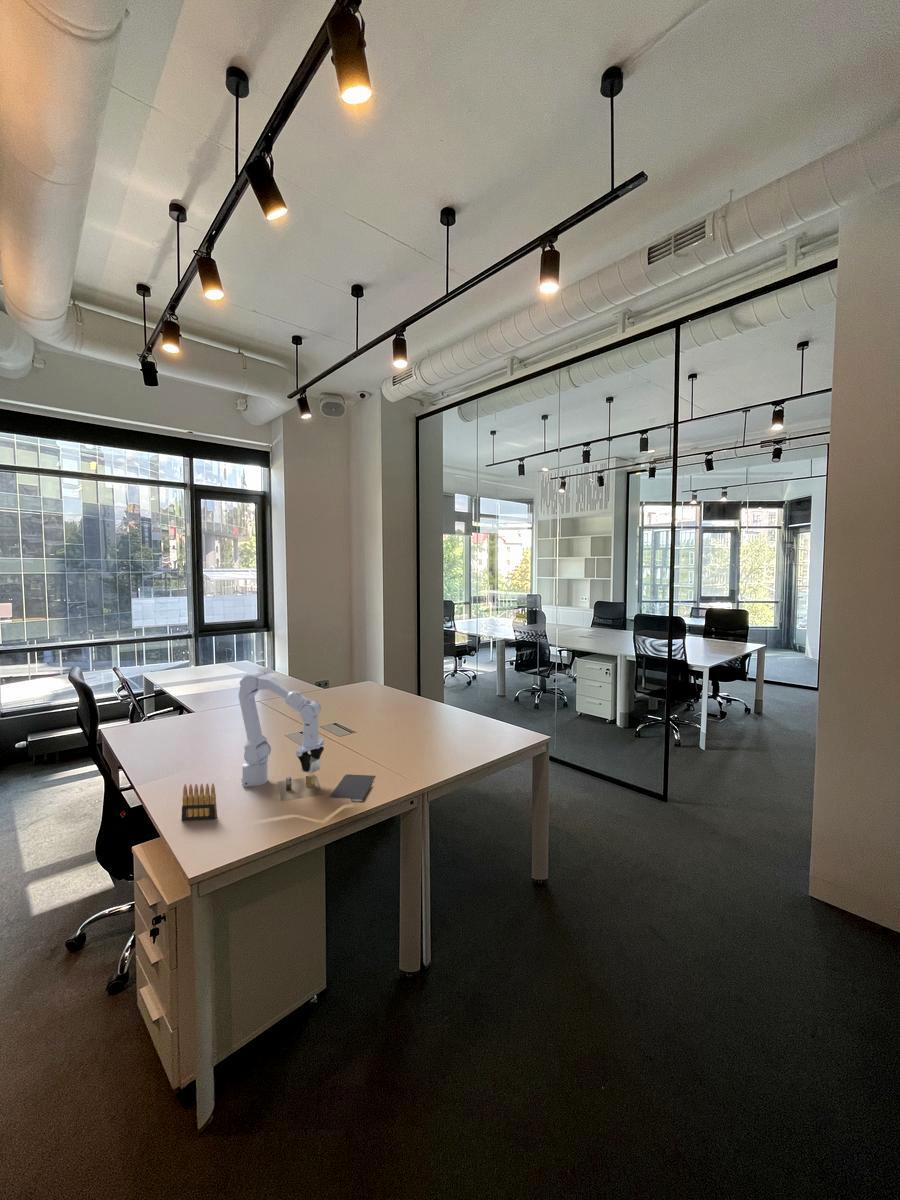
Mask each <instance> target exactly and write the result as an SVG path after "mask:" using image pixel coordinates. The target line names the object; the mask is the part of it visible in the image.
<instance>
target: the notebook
mask: <svg viewBox="0 0 900 1200" xmlns="http://www.w3.org/2000/svg"><path fill="white" fill-rule="evenodd" d="M376 777H377V775H369V774H368V775H367V774H366V775H364V774H345V775H344V776H343V777H342V779H341V780H340V782H339V783H338V784H337V786H336V787H335V788H334V789H333V791H332V792H331V794H330V795H329V798H332V799H349V800H351V802H359V801H362V802H364V801H365V799H364V798H366V797H367V795H368V793H369V792H370V790H369V789H371V788H372V786H373V785H372V783H373V782H374V783H375V779H376ZM374 783H373V784H374ZM371 785H372V786H371ZM370 787H371V788H370ZM368 791H369V792H368ZM366 794H367V795H366ZM365 796H366V797H365Z"/></svg>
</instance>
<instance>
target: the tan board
mask: <svg viewBox="0 0 900 1200" xmlns="http://www.w3.org/2000/svg"><path fill="white" fill-rule="evenodd" d="M319 781H320V780H319V779H318V776H316V775H315V786H313V787H312V788H309V787H306V777H299V778H295V779H293V778H292V789H291V790H289V791H287V790H286V780H281V781H277V787H278V793H279V798H280V802H286V801H292V800H297V799H304V798H309V797H315V796H322V795H324V791H323V789H322V786H321V784H320V782H319Z"/></svg>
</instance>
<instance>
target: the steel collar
mask: <svg viewBox="0 0 900 1200" xmlns="http://www.w3.org/2000/svg"><path fill="white" fill-rule="evenodd" d="M300 765H301V764H300ZM320 769H321V757H320V758H314V757H311V759H310V765H309V771H308V772H305V771H303V768H302V765H301V766H300V772H302V773H303V772H304V773H308V774H314V773H315V772H317V771H319V770H320Z"/></svg>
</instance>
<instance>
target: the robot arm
mask: <svg viewBox="0 0 900 1200" xmlns="http://www.w3.org/2000/svg"><path fill="white" fill-rule="evenodd" d="M261 690H268V691H270V692H272V693H274V694H275V695H277V696H279V697H281V698H283V699H284V700H285V704H286V705H288V706H289V707H290V708H292V709H294V710H295V711H297V712H298V713H299V715H300V717H301V718H302V745H301V746H300V747H299V748H297V750H296V751H295V757H297V758H298V759H299V762H300V765H302V768H303V771H305V772H304V773H307V772H308V771H309V765H310V759H311V757H314V758H320V759H321V755H322V753H323V752H324V749H325V747H323V745H325V739H322V738H320V739H319V714H320V713H321V710H322V707H321V704H320V703H319V702H318V701H317V700H311V699H310V698H307V697H306V696H304V695H303V694H302V693H301V691H299V690H298V691H296V690H293V691H290V690H289V689H288V688H287V687H285V686H284V685H283V684H281V683H280V682H278V681H277V680H276V679H275V678H273V676H272V675H271V674H269V673H267V672H266V671H264V670H258V671H255V672H253V673H250V674H246V675H244V676H243V677H242V678H241V680H240V681H239V690H238V700H239V705H240V710H241V714H242V719H243V724H244V728H245V733H246V739H247V740H246V743H245V745H244V753H243V754H244V755H243V758H244V761H245V762H244V763H242V777H241V783H242V788H243V787H244V788H246V787H251V786H253V787H256V786H261V785H264V784H266V783H268V782H269V781H268V780H269V779H268V777H269V776H268V775H269V774H268V771H269V769H268V768H269V767H268V766H269V765H268V762H269V761H268V759H269V756H270V754H271V752H272V747H271V745H270V743H269V741H268V739H267V737H266V736H264V735H263V733H262V728H261V723H260V718H259V713H258V707H257V704H256V699H255V696H256V695H257V694H258V692H259V691H261ZM309 752H310V753H309Z"/></svg>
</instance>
